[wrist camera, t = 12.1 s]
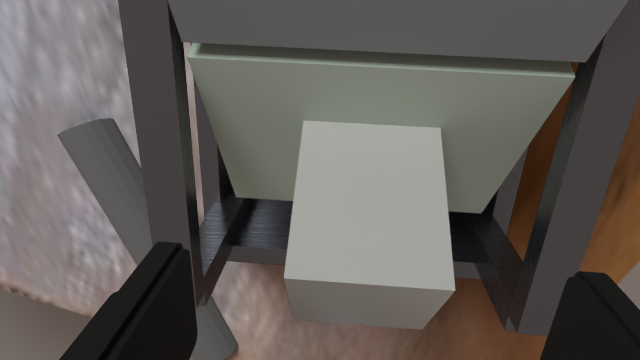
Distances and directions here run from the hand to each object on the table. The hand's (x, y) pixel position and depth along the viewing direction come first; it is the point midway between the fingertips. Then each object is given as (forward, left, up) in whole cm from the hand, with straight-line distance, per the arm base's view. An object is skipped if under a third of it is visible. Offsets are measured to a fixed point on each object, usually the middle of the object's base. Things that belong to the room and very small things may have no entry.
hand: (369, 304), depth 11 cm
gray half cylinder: (+13, +10, -17) cm, 23 cm away
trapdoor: (0, -4, -8) cm, 9 cm away
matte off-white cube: (0, -1, -8) cm, 8 cm away
